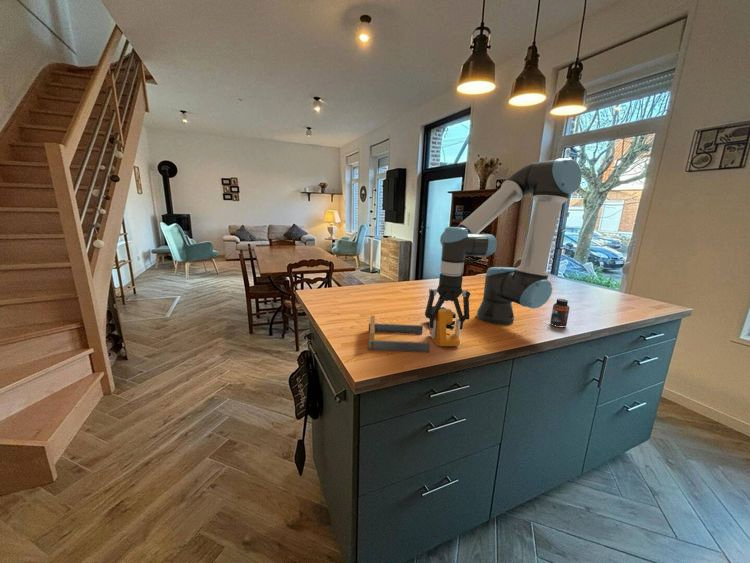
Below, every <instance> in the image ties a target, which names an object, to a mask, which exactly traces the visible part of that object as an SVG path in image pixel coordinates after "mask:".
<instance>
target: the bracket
mask: <svg viewBox="0 0 750 563" xmlns="http://www.w3.org/2000/svg"><path fill="white" fill-rule="evenodd" d="M452 312H453V311H452V309H450V308H446V309H439V310H438V313H437V315H436V317H435V319H436V329H435V338H432V337H431V339H432V340H433V342H434V343H435V345H437V346H439V347H458V346H460V341H461V339H460V337H459V338H458V337H457V336H456V335H455V332H453V330H452V329H446V325H447V324H451V323H452V321H454V318H453V315H452ZM429 329H430V330H429V334H430V335H431V331H432V328H430V327H429Z"/></svg>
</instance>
